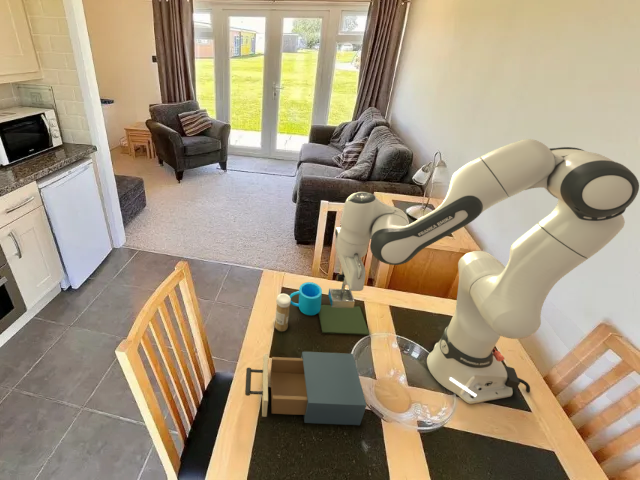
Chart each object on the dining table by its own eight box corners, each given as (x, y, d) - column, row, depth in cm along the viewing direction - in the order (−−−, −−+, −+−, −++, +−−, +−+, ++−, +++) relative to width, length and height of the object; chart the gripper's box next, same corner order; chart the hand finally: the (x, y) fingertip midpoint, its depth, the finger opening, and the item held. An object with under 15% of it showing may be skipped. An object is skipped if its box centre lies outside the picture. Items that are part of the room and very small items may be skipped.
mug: (318, 297, 121) (319, 281, 117) (322, 315, 113) (324, 298, 110) (287, 298, 121) (287, 282, 117) (289, 315, 114) (289, 299, 110)
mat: (359, 307, 118) (359, 306, 118) (369, 335, 107) (369, 333, 107) (317, 305, 118) (317, 304, 118) (322, 333, 107) (322, 331, 107)
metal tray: (349, 295, 105) (354, 270, 100) (353, 308, 100) (359, 282, 95) (328, 294, 105) (332, 269, 100) (331, 307, 100) (336, 281, 95)
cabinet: (304, 423, 83) (308, 402, 78) (299, 371, 95) (302, 351, 91) (360, 425, 83) (366, 405, 78) (347, 373, 95) (352, 353, 91)
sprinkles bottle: (290, 328, 109) (293, 299, 103) (279, 334, 106) (282, 305, 100) (282, 319, 112) (285, 291, 106) (271, 324, 110) (274, 296, 104)
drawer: (244, 415, 83) (244, 399, 79) (246, 369, 94) (247, 353, 91) (313, 418, 83) (316, 402, 79) (307, 371, 94) (310, 355, 91)
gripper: (374, 268, 83) (365, 306, 89) (353, 225, 101) (347, 259, 107) (350, 267, 83) (342, 305, 89) (334, 224, 101) (328, 259, 107)
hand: (345, 280), depth 98 cm, fingers closed on metal tray
